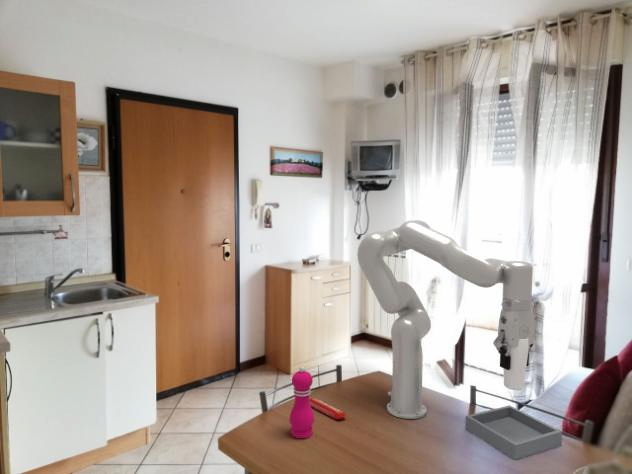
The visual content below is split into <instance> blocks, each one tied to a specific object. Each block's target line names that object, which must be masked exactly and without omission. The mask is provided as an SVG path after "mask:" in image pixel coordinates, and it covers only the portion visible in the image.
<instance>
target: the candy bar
mask: <svg viewBox="0 0 632 474" xmlns="http://www.w3.org/2000/svg"><path fill="white" fill-rule="evenodd" d="M309 402H310V406H311V408H313V407H314V408H313V409H314V410H316V411H319V412H321V413H323V414H326V415H327V416H328V417H331V418H333V419H335V420H343V419H347V417H346V413H345V412H344V411H343V410H341V409H340V408H337V407H336V406H333V405H332V404H329V403H327V402H325V401H323V400H322V399H319V398H317V397H316V398H315V397H312V398H311V397H310V398H309Z"/></svg>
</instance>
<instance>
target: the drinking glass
mask: <svg viewBox="0 0 632 474" xmlns="http://www.w3.org/2000/svg"><path fill="white" fill-rule="evenodd" d="M504 343H506V341H505V340H504ZM506 344H507V343H506ZM506 348H507V346H504V349H505V350H506ZM528 348H529V338H526V339H519V344H518V347H511V351H510V354H509V356H511V364H510V370H506V369H504V368H503V386H504V387H505V388H507V389H509V390H512V391H522V390H523V389H524V388H525V378H526V371H527V366H526V365H527V358H528Z"/></svg>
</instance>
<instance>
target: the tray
mask: <svg viewBox="0 0 632 474" xmlns="http://www.w3.org/2000/svg"><path fill="white" fill-rule="evenodd" d="M464 426H465V427H464V428H465V430H466V431H467V432H470V433H471V434H473V435H474V436H476V437H477V438H479V439H481V440H482V441H484V442H486V443H487V444H489V445H491V446H492V447H493V448H495V449H497V450H498V451H500V452H502V453H503V454H505V455H506V456H508V457H509V458H511V459H513V460H514V461H516V460H519V459H522V458H525V457H529V456H532V455H535V454H539V453H541V452H544V451H549V450H551V449H554V448H558V447H561V446H562V440H563V438H562V436H563V430H560V429H559V428H556V427H553V426H552V425H550V424H549V423H546V422H544V421H542V420H540V419H538V418H536V417H534V416H531V415H530V414H528V413H526V412H523V411H521V410H519V409H518V408H515V407H513V406H511V405H510V404H509V405H505V406H501V407H497V408H493V409H489V410H485V411H481V412H476V413H473V414H468V415H465V425H464Z"/></svg>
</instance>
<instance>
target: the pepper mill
mask: <svg viewBox="0 0 632 474" xmlns="http://www.w3.org/2000/svg"><path fill="white" fill-rule="evenodd" d="M291 385H292V386H293V395H294V403H293V406H292V409H291V411H290V414H289V419H288V420H289V423H290V425H291V428H290V434H292V435H293V436H294V437H296V438H295V439H297V438H306V439H309V438H311V437H312V436H313V425H314V423H315V415H314V410H313V407H312V406H310V402H309V399H310V394H311V393H312V392H311V390H312V389H311V387H312V385H313V376H312V374H311V373H310V372H308V371H306V367H305V366H299V370H298V371H296V372H294V374H293V375H292V378H291ZM292 435H291V436H292ZM311 435H312V436H311ZM293 436H292V437H293ZM294 437H293V438H294ZM308 437H309V438H308Z"/></svg>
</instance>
